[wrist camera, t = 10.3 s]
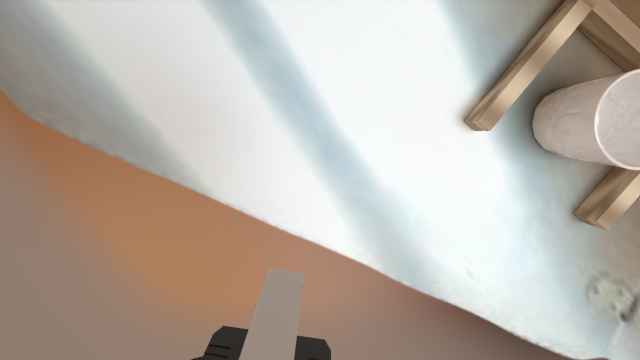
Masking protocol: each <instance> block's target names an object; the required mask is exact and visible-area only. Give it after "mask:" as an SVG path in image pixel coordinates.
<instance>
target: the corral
mask: <svg viewBox="0 0 640 360" xmlns="http://www.w3.org/2000/svg"><path fill="white" fill-rule="evenodd" d="M576 28H577V29H578V30H579V31H580V32H581V33H583V34H584V35H585V36H586V37H587V38H588V39H589V40H590V41H591V42H593V43H594V44H595V45H596V46H597V47H598V48H599V49H600V50H601V51H602V52H604V53H605V54H606V55H607V56H608V57H609V58H610V59H611V60H612V61H613V62H615V63H616V64H617V65H618V66H619V67H620V68H621V69H622V70H623V71H624V72H629V71H633V70H637V69H640V29H639V28H638V27H637V26H636V25H635V24H634V23H632V22H631V21H630V20H629V19H628V18H627V17H626V16H625V15H624V14H623V13H622V12H621V11H620V10H618V9H617V8H616V7H615V6H614V5H613V4H612V3H611V2H610V1H609V0H564V1H563V3H562V4H561V5H560V6H559V7H558V9H557V10H556V11H555V12H554V13H553V15H552V16H551V17H550V18H549V19H548V21H547V22H546V23H545V24H544V25H543V27H542V28H541V29H540V30H539V31H538V33H537V34H536V35H535V36H534V38H533V39H532V40H531V41H530V42H529V44H528V45H527V46H526V47H525V48H524V50H523V51H522V52H521V53H520V54H519V56H518V57H517V58H516V59H515V60H514V62H513V63H512V64H511V65H510V66H509V68H508V69H507V70H506V71H505V72H504V74H503V75H502V76H501V77H500V78H499V80H498V81H497V82H496V83H495V84H494V86H493V87H492V88H491V89H490V90H489V92H488V93H487V94H486V95H485V97H484V98H483V99H482V100H481V101H480V103H479V104H478V105H477V106H476V107H475V109H474V110H473V111H472V112H471V113H470V115H469V116H468V117H467V118H466V119H465V121H464V122H465V123H466V124H467V125H469V126H470V127H471V128H472V129H473V130H474V131H490V130H491V129H492V128H493V127H494V125H495V124H496V123H497V122H498V121H499V119H500V118H501V117H502V116H503V115H504V114H505V112H506V111H507V110H508V109H509V108H510V106H511V105H512V104H513V103H514V102H515V100H516V99H517V98H518V97H519V96H520V94H521V93H522V92H523V91H524V90H525V89H526V87H527V86H528V85H529V84H530V83H531V81H532V80H533V79H534V78H535V77H536V75H537V74H538V73H539V72H540V71H541V69H542V68H543V67H544V66H545V65H546V64H547V62H548V61H549V60H550V59H551V58H552V56H553V55H554V54H555V53H556V52H557V50H558V49H559V48H560V47H561V46H562V44H563V43H564V42H565V41H566V40H567V39H568V37H569V36H570V35H571V34H572V33H573V31H574V30H575V29H576ZM639 195H640V170H630V169H625V168H620V167H614V168H613V169H612V170H611V171H610V173H609V174H608V175H607V176H606V177H605V178H604V179H603V180H602V182H601V183H600V184H599V185H598V186H597V187H596V188H595V189H594V191H593V192H592V193H591V194H590V195H589V196H588V197H587V198H586V200H585V201H584V202H583V203H582V204H581V205H580V206H579V208H578V209H577V210H576V211H575V212H574V213H573V214H574V215H575V216H576V217H578V218H579V219H580V220H581V221H582V222H584V223H587V224H590V225H592V226H595V227H598V228H601V229H604V230H607V231H608V230H609V229H610V227H611V226H612V225H613V224H614V223H615V222H616V221H617V220H618V219H619V217H620V216H621V215H622V214H623V213H624V212H625V211H626V210H627V209H628V207H629V206H630V205H631V204H632V203H633V202H634V201H635V200H636V199H637V197H638V196H639Z"/></svg>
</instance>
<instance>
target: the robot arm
mask: <svg viewBox="0 0 640 360" xmlns="http://www.w3.org/2000/svg"><path fill="white" fill-rule="evenodd" d="M303 280H304V273H297V272H290V271H284V270H277V269H271V268H269V270H268V273H267V276H266V279H265V282H264V285H263V288H262V291H261V294H260V297H259V300H258V303H257V306H256V309H255V312H254V315H253V318H252V321H251V324H250V327H249V330H248V329H241V328H235V327H227V326H223V327H222V328H220V329H219V330H218V331H217V332H215V333H214V334H213V336H212V338H211V340H210V342H209V345H208V346H207V349H206V351H205V353H204V355H203V357H199V358H194V359H192V360H331V350H330V348H329V346H328V345H327V343H326V341H325V340H323V339H316V338H309V337H303V336H297V331H298V322H299V314H300V306H301V297H302V289H303Z"/></svg>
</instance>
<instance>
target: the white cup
mask: <svg viewBox="0 0 640 360" xmlns="http://www.w3.org/2000/svg"><path fill="white" fill-rule="evenodd" d="M532 127H533V132H534V137H535V139H536V140H537V141H538V142H539V144H540V145H541V146H542V147H543V149H545V150H547V151H550V152H552V153H554V154H556V155H562V156H567V157H570V158H574V159H578V160H583V161H587V162H592V163H598V164H603V165H609V166H614V167H620V168H625V169H630V170H640V69H637V70H633V71H629V72H624V73H620V74H616V75H612V76H607V77H603V78H599V79H594V80H591V81H588V82H583V83H579V84H576V85H573V86H571V87H567V88H562V89H558V90H556V91H554V92H553V93H551V94H549V95H547V96H545V97H544V98H543V100H542V101H541V102H540V104H539V105H538V106H537V107H536V109H535V113H534V117H533V121H532Z"/></svg>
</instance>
